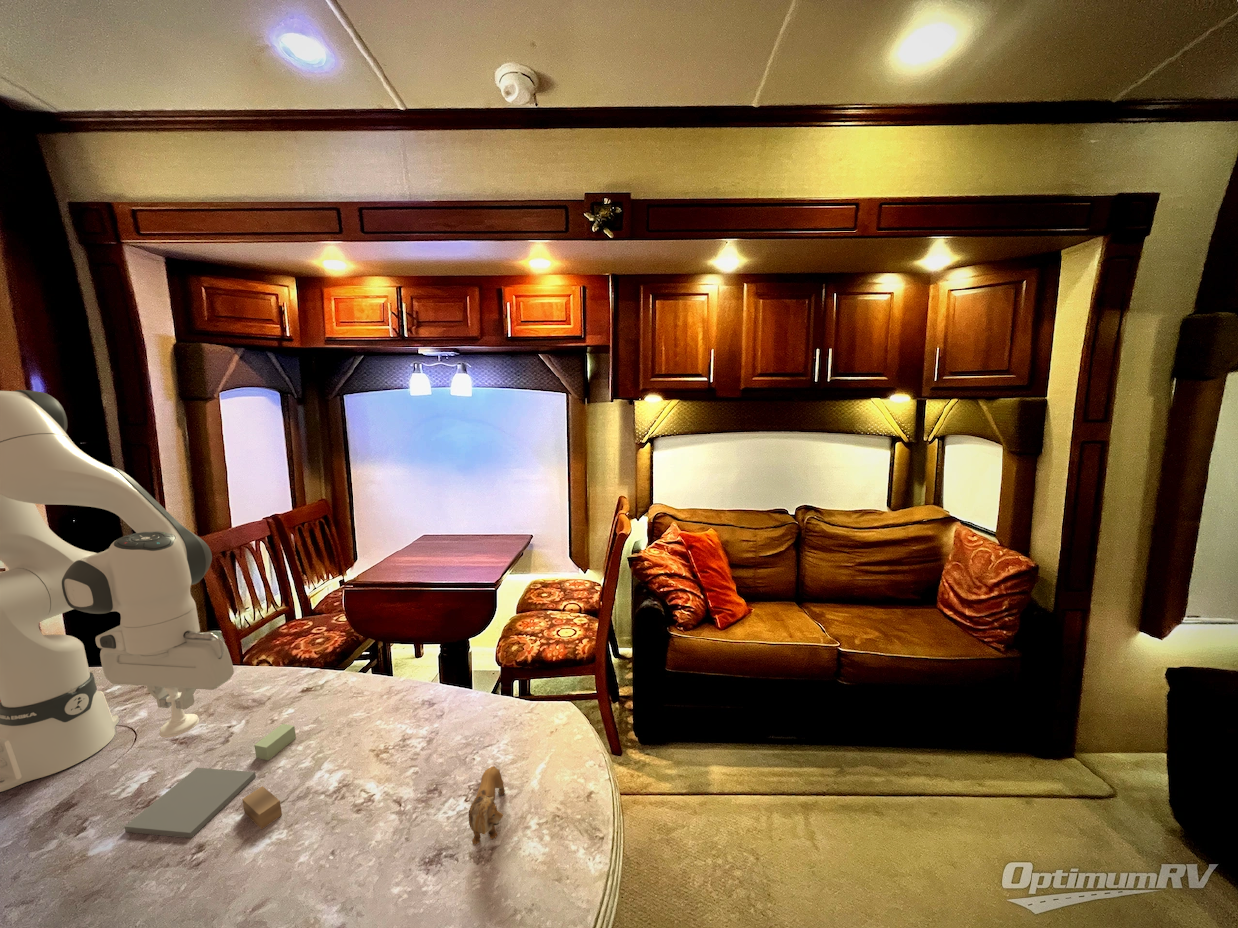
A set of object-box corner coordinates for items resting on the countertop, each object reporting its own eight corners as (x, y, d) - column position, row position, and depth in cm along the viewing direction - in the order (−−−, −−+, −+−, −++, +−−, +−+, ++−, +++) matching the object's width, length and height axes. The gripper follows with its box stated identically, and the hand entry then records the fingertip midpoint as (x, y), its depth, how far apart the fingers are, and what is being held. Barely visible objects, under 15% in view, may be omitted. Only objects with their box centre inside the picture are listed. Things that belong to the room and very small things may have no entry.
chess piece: (175, 739, 76) (165, 684, 75) (151, 735, 77) (141, 681, 75) (206, 718, 81) (198, 666, 79) (183, 715, 82) (174, 663, 80)
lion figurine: (505, 858, 71) (502, 808, 70) (469, 867, 70) (465, 816, 68) (505, 780, 85) (502, 737, 84) (475, 786, 84) (472, 742, 82)
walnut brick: (244, 814, 79) (242, 798, 79) (264, 800, 82) (262, 785, 81) (261, 830, 76) (259, 814, 76) (282, 815, 79) (279, 800, 78)
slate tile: (125, 831, 76) (124, 826, 76) (197, 771, 88) (196, 767, 88) (191, 837, 75) (190, 832, 75) (255, 776, 87) (255, 771, 87)
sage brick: (268, 761, 91) (266, 747, 90) (256, 758, 91) (254, 744, 91) (296, 738, 96) (294, 725, 96) (284, 736, 97) (282, 723, 97)
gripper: (237, 623, 78) (249, 697, 80) (129, 618, 80) (144, 690, 83) (201, 643, 72) (214, 723, 74) (85, 637, 74) (101, 715, 76)
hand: (176, 706), depth 78 cm, fingers closed on chess piece
